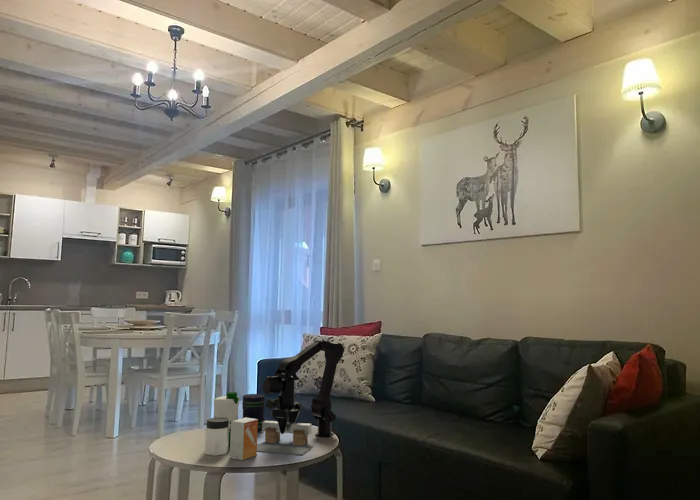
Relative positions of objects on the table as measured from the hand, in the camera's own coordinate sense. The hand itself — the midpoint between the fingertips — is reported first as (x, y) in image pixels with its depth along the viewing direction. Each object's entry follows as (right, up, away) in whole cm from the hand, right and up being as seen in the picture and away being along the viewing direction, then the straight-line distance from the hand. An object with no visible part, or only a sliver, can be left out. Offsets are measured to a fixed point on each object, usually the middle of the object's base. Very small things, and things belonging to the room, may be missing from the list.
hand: (286, 431), depth 213 cm
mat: (-2, -3, -12) cm, 13 cm away
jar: (-24, -2, -17) cm, 29 cm away
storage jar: (-17, -7, +20) cm, 27 cm away
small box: (-13, -2, -22) cm, 26 cm away
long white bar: (0, 0, 0) cm, 0 cm away
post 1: (-6, -4, +1) cm, 7 cm away
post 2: (+6, -4, -2) cm, 7 cm away
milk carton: (-24, -4, -4) cm, 25 cm away
